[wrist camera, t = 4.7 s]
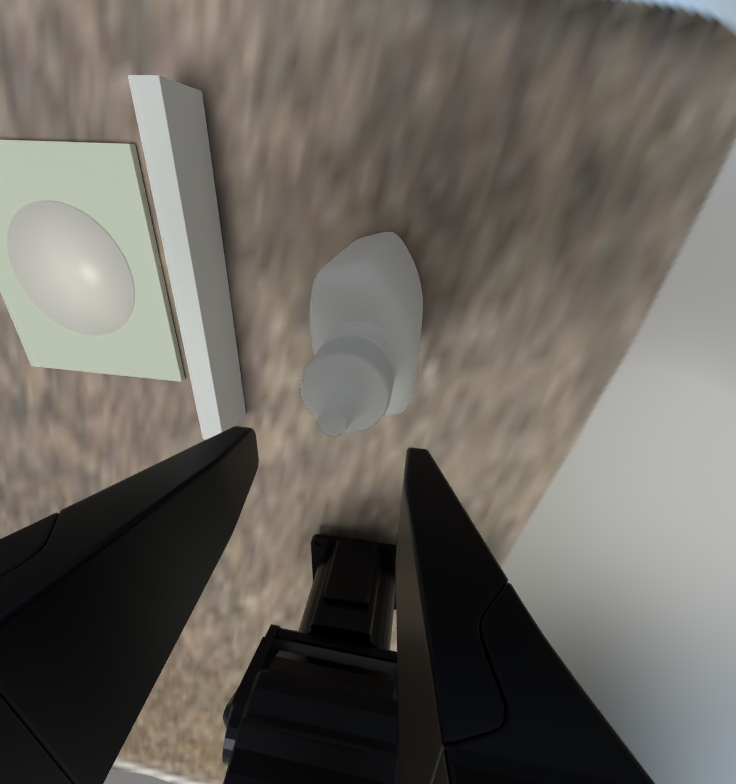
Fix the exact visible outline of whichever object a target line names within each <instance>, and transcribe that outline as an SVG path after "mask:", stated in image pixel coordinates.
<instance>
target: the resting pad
mask: <svg viewBox="0 0 736 784" xmlns="http://www.w3.org/2000/svg"><path fill="white" fill-rule="evenodd" d="M0 292H1V294H2V297H3V299H4V301H5V304H6V306H7V309H8V311H9V313H10V316H11V318H12V321H13V323H14V325H15V328H16V330H17V333H18V335H19V337H20V340H21V342H22V344H23V347H24V349H25V352H26V354H27V356H28V359H29V361H30V364H31V366H36V367H45V368H55V369H65V370H74V371H84V372H93V373H103V374H113V375H122V376H132V377H141V378H151V379H161V380H170V381H180V382H182V381H183V380H184V379H185V375H184V370H183V366H182V361H181V356H180V352H179V347H178V342H177V338H176V333H175V328H174V324H173V319H172V314H171V310H170V305H169V300H168V296H167V291H166V286H165V282H164V277H163V272H162V268H161V263H160V258H159V253H158V249H157V244H156V239H155V235H154V230H153V225H152V221H151V216H150V211H149V207H148V202H147V197H146V193H145V188H144V183H143V179H142V174H141V169H140V165H139V160H138V155H137V151H136V146H135V144H118V143H87V142H56V141H24V140H0Z"/></svg>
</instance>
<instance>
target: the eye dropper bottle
mask: <svg viewBox="0 0 736 784" xmlns="http://www.w3.org/2000/svg"><path fill="white" fill-rule="evenodd" d="M422 318H423V296H422V288H421V283H420V278H419V275H418V272H417V269H416V266H415V263H414V261H413V259H412V257H411V255H410V253H409V251H408V249H407V247H406V246H405V244H404V242H403V241H402V240H401V238H400V237H399V236H398V235H397V234H395V233H394V232H382V233H377V234H373V235H369V236H365V237H362V238H359V239H357V240H356V241H354V242H353V243H351V244H350V245H349V246H347V247H346V248H345V249H344V250H343V251H341V252H340V253H339V254H338V255H336V256H335V257H334V258H333V259H332V260H330V261H329V262H328V263H327V264H326V265H325V266H324V267H323V268H321V269H320V270H319V272H318V274H317V276H316V278H315V280H314V282H313V287H312V293H311V301H310V333H311V340H312V346H313V351H314V357H313V358H312V360H311V361H310V363H309V364H308V366H307V367H306V369H305V371H304V372H303V375H302V379H301V384H300V385H301V388H300V390H301V395H302V399H303V402H304V403H305V406H306V407H307V410H308V411H309V413H310V414H312V416H313V417H314V418H315V419H316V420H318V421H317V423H318V427H319V429H320V430H321V431H322V432H323V433H324V434H326V435H328V436H340V435H342V434H343V433H344V432H357V431H362V430H366V429H367V428H370V427H371V426H373V425H374V424H377V422H379V421H380V419H382V418H384V417H390V416H394V415H397V414H400V413H402V412H404V411H405V409H406V408H407V407H408V406H409V404H410V401H411V399H412V396H413V392H414V388H415V383H416V378H417V369H418V360H419V350H420V340H421V329H422Z"/></svg>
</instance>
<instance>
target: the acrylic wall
mask: <svg viewBox="0 0 736 784" xmlns="http://www.w3.org/2000/svg"><path fill="white" fill-rule="evenodd" d="M128 79H129V84H130V88H131V93H132V98H133V103H134V108H135V113H136V117H137V122H138V127H139V132H140V137H141V142H142V146H143V151H144V156H145V161H146V166H147V171H148V176H149V180H150V185H151V190H152V195H153V200H154V205H155V209H156V214H157V219H158V224H159V229H160V234H161V238H162V243H163V248H164V253H165V258H166V263H167V267H168V272H169V277H170V282H171V287H172V292H173V296H174V301H175V306H176V311H177V316H178V321H179V326H180V330H181V335H182V340H183V345H184V350H185V355H186V359H187V364H188V369H189V374H190V379H191V384H192V388H193V393H194V398H195V403H196V408H197V413H198V417H199V422H200V427H201V432H202V437H203V439H209V438H211V437H213V436H215V435H217V434H219V433H221V432H223V431H225V430H227V429H229V428H232V427H234V426H236V425H237V424H238V423H239V421H240V420H241V419H242V418H243V416H244V415H245V414H246V410H245V402H244V395H243V388H242V380H241V373H240V366H239V358H238V351H237V344H236V336H235V329H234V322H233V314H232V307H231V300H230V292H229V285H228V278H227V270H226V263H225V256H224V249H223V241H222V234H221V227H220V219H219V212H218V205H217V197H216V190H215V183H214V175H213V168H212V161H211V153H210V146H209V139H208V131H207V124H206V117H205V109H204V102H203V95H202V91H200V90H197V89H195V88H192V87H189V86H186V85H184V84H181V83H178V82H175V81H173V80H170V79H167V78H165V77H162V76H159V75H128Z"/></svg>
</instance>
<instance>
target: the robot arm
mask: <svg viewBox="0 0 736 784" xmlns="http://www.w3.org/2000/svg"><path fill="white" fill-rule="evenodd" d="M258 463H259V458H258V450H257V441H256V434H255V431H254V430H253V429H252V428H247V427H239V426H234V427H232V428H229V429H227V430H225V431H223V432H221V433H219V434H217V435H215V436H213V437H211V438H209V439H207V440H205V441H203V442H201V443H199V444H197V445H194V446H192V447H190V448H188V449H186V450H184V451H182V452H180V453H178V454H176V455H174V456H172V457H170V458H168V459H166V460H164V461H161V462H159V463H157V464H155V465H153V466H151V467H149V468H147V469H145V470H143V471H141V472H139V473H137V474H135V475H133V476H131V477H128V478H126V479H124V480H122V481H120V482H118V483H116V484H114V485H112V486H110V487H108V488H106V489H104V490H102V491H100V492H98V493H95V494H93V495H91V496H89V497H87V498H85V499H83V500H81V501H79V502H77V503H75V504H73V505H71V506H69V507H67V508H65V509H62V510H61V511H60V513H54V514H52V515H50V516H48V517H46V518H44V519H42V520H40V521H38V522H36V523H34V524H32V525H29V526H27V527H25V528H23V529H21V530H19V531H17V532H14V533H12V534H10V535H8V536H6V537H4V538H2V539H0V784H103V783H104V781H105V779H106V777H107V775H108V773H109V771H110V769H111V767H112V765H113V763H114V762H115V760H116V758H117V756H118V754H119V752H120V750H121V748H122V746H123V744H124V742H125V740H126V738H127V736H128V735H129V733H130V731H131V729H132V727H133V725H134V723H135V721H136V719H137V717H138V715H139V713H140V711H141V709H142V708H143V706H144V704H145V702H146V700H147V698H148V696H149V694H150V692H151V690H152V688H153V686H154V684H155V682H156V681H157V679H158V677H159V675H160V673H161V671H162V669H163V667H164V665H165V663H166V661H167V659H168V657H169V655H170V654H171V652H172V650H173V648H174V646H175V644H176V642H177V640H178V638H179V636H180V634H181V632H182V630H183V628H184V627H185V625H186V623H187V621H188V619H189V617H190V615H191V613H192V611H193V609H194V607H195V605H196V603H197V601H198V600H199V598H200V596H201V594H202V592H203V590H204V588H205V586H206V584H207V582H208V580H209V578H210V576H211V574H212V573H213V571H214V569H215V567H216V565H217V563H218V561H219V559H220V557H221V555H222V553H223V551H224V549H225V547H226V546H227V544H228V542H229V539H230V537H231V535H232V533H233V531H234V529H235V526H236V524H237V521H238V519H239V516H240V513H241V511H242V508H243V506H244V503H245V500H246V498H247V495H248V493H249V490H250V487H251V485H252V482H253V480H254V477H255V474H256V472H257V469H258ZM311 551H312V570H313V584H312V588H311V591H310V594H309V598H308V601H307V604H306V608H305V611H304V614H303V618H302V621H301V624H300V628H299V631H293V630H288V629H283V628H280V626H277V625H272V624H271V626H270V628H269V630H268V632H267V634H266V636H265V637H263V638H262V640H261V642H260V644H259V646H258V648H257V650H256V652H255V655H254V657H253V659H252V661H251V663H250V665H249V667H248V669H247V671H246V673H245V675H244V677H243V679H242V681H241V683H240V685H239V687H238V689H237V690H236V692H235V693H234V695H233V696H232V698H231V700H230V701H229V703H228V704H227V706H226V708H225V711H224V714H223V721H224V723H225V726H226V734H225V740H224V746H223V755H222V758H223V763H224V764H227V765H228V768H227V772H226V776H225V779H224V783H223V784H655V783H654V781H653V780H652V779H651V778H650V776H649V775H648V774H647V772H646V771H645V770H644V768H643V767H642V766H641V764H640V763H639V762H638V760H637V759H636V758H635V756H634V755H633V754H632V753H631V751H630V750H629V749H628V747H627V746H626V745H625V743H624V742H623V741H622V739H621V738H620V737H619V735H618V734H617V733H616V731H615V730H614V729H613V727H612V726H611V725H610V724H609V722H608V721H607V720H606V718H605V717H604V716H603V714H602V713H601V712H600V710H599V709H598V708H597V706H596V705H595V704H594V703H593V701H592V700H591V699H590V697H589V696H588V695H587V694H586V692H585V691H584V690H583V688H582V687H581V685H580V684H579V683H578V682H577V680H576V679H575V677H574V676H573V675H572V673H571V672H570V671H569V669H568V668H567V667H566V665H565V664H564V662H563V661H562V660H561V658H560V657H559V656H558V655H557V653H556V651H555V650H554V649H553V648H552V646H551V645H550V643H549V642H548V640H547V639H546V638H545V636H544V635H543V634H542V632H541V630H540V629H539V627H538V626H537V624H536V623H535V621H534V620H533V618H532V617H531V615H530V614H529V612H528V610H527V609H526V607H525V606H524V604H523V603H522V601H521V599H520V598H519V596H518V595H517V593H516V591H515V590H514V588H513V586H512V585H511V584H510V583H508V579H507V577H506V575H505V574H504V572H503V571H502V569H501V567H500V566H499V564H498V562H497V561H496V559H495V558H494V556H493V554H492V553H491V551H490V550H489V548H488V546H487V545H486V543H485V542H484V540H483V538H482V537H481V535H480V533H479V532H478V530H477V529H476V527H475V525H474V524H473V522H472V521H471V519H470V517H469V516H468V514H467V512H466V511H465V509H464V508H463V506H462V504H461V503H460V501H459V500H458V498H457V496H456V495H455V493H454V491H453V490H452V488H451V487H450V485H449V483H448V482H447V480H446V479H445V477H444V475H443V474H442V472H441V471H440V469H439V467H438V466H437V464H436V462H435V461H434V459H433V458H432V456H431V454H430V453H429V451H428V450H426V449H419V448H408V449H407V453H406V462H405V471H404V480H403V489H402V499H401V508H400V518H399V527H398V537H397V545H391V544H384V543H377V542H370V541H364V540H357V539H350V538H343V537H336V536H329V535H322V534H316V535H314V536H313V538H312V541H311ZM395 609H396V612H397V652H395V651H390V643H391V632H392V622H393V611H394V610H395Z"/></svg>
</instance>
